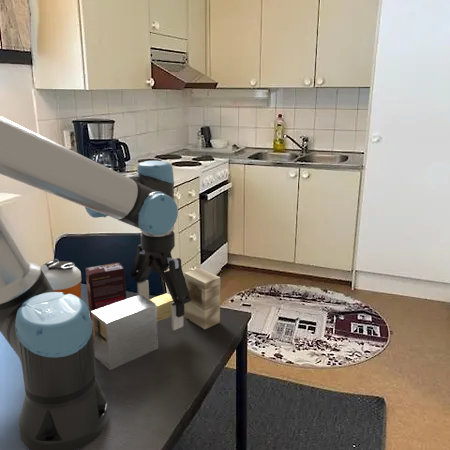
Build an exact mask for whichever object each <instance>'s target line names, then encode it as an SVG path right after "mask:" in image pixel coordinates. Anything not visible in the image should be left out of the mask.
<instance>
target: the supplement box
mask: <svg viewBox="0 0 450 450" xmlns="http://www.w3.org/2000/svg"><path fill="white" fill-rule="evenodd" d="M125 275H126V273H125V268H124V266H123V265H122V264H121V263H120V262H119V261H118V262H112V263H108V264H103V265H96V266H90V267H85V279H86V290H87V300H88V301H87V303H88V309H89V313H90V317H91V320H92V314H91V311H94V310H97V309H100V308H103V307H106V306H108V305H111V304H114V303H117V302H120V301H123V300H126V299H127V289H126V277H125ZM92 330H93V326H92Z"/></svg>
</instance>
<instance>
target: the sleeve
mask: <svg viewBox="0 0 450 450" xmlns="http://www.w3.org/2000/svg"><path fill="white" fill-rule="evenodd" d="M91 314H92V326H93V329H92V339H93V352H94V358H96V359H97V360H98V361H99V362H100V363H101V364H102V365H104V367H106V368H107V369H108V370H109V371H111V370H113V369H115V368H118V367H120V366H122V365H125V364H126V363H127V364H128V363H129V362H131V361H133V360H136V359H137V358H140V357H142V356H146V355H147V354H149V353H151V352H153V351H156V350H157V349H159V339H158V337H159V335H158V334H159V333H158V322H157V304H155V303H153V302H152V301H150V300H148V299H147V298H145V297H144V296H142V295H138V294H137V295H135V296H132V297H128V298H126V300H123V301H120V302H117V303H114V304H111V305H108V306H106V307H103V308H100V309H97V310H94V311H91ZM99 321H100V322H102V323H103V324H104V325H105V331H106V338H105V337H103V336H102V335H101V334H100V325H99Z"/></svg>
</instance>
